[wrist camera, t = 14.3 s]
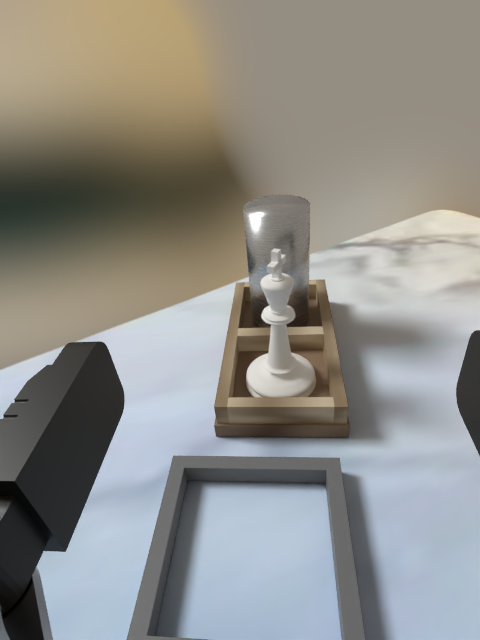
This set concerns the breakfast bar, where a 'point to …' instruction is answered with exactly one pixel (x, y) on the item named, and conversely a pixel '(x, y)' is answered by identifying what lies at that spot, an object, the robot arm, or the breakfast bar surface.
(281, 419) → the wooden divided tray
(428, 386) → the breakfast bar surface
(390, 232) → the breakfast bar surface
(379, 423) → the breakfast bar surface
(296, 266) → the steel peg
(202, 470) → the frame
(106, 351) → the robot arm
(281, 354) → the chess piece
